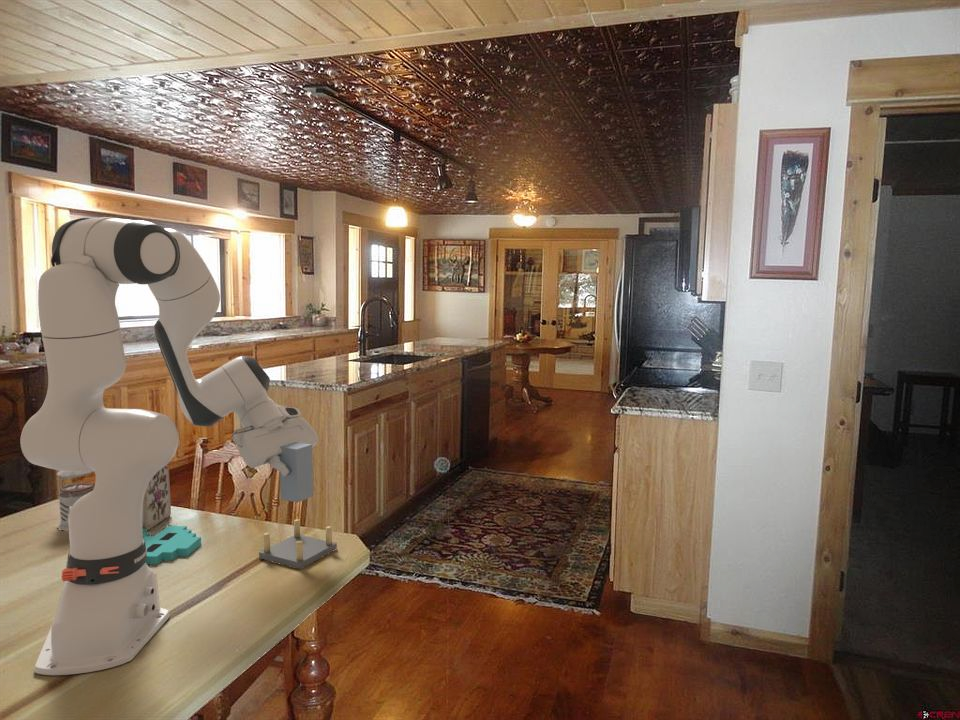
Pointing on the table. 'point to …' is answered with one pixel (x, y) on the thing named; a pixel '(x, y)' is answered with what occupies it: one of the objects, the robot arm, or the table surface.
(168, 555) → the alien figure
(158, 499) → the decorative jar
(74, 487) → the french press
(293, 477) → the slate block
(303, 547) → the grey peg base
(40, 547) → the table surface
